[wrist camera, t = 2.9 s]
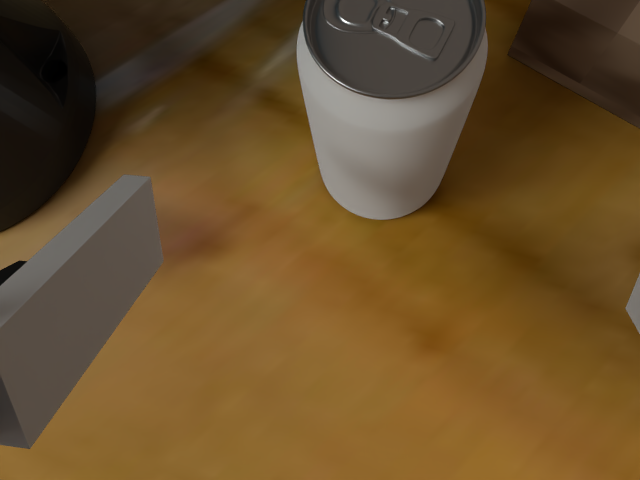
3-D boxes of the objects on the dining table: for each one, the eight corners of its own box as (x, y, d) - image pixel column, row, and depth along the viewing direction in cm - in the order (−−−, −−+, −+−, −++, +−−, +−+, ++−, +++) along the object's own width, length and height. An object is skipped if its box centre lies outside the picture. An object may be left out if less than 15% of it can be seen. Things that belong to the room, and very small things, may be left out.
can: (354, 89, 29) (347, -99, 18) (464, 136, 28) (534, -31, 16) (298, 190, 28) (251, 60, 16) (411, 243, 27) (446, 145, 15)
